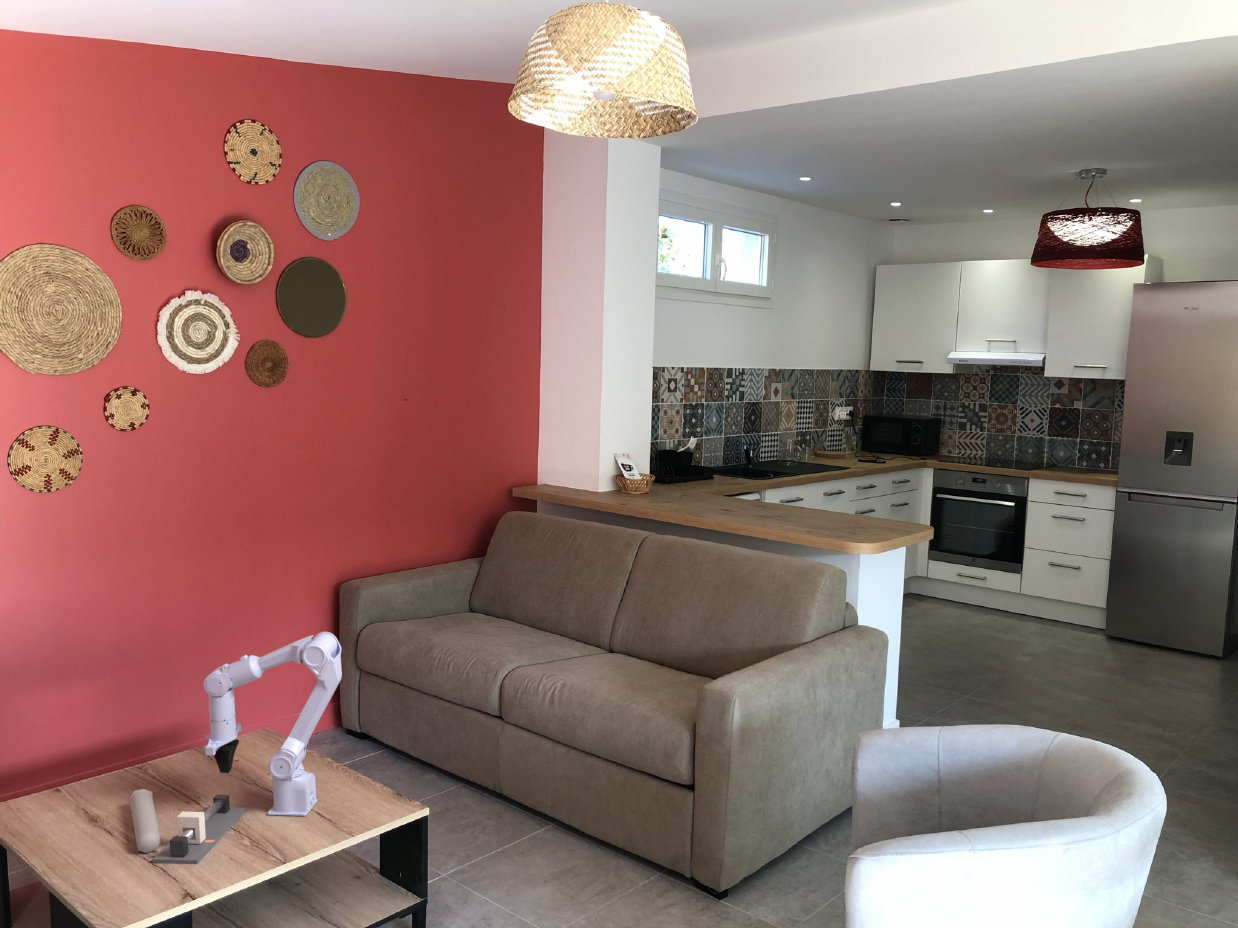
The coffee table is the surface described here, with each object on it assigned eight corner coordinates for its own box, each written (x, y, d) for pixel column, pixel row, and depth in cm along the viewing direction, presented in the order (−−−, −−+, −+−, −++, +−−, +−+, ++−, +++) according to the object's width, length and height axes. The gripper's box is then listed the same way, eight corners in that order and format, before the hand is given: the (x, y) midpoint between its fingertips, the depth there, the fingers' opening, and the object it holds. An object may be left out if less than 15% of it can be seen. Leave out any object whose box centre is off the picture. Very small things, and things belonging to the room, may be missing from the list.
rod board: (246, 810, 234) (245, 792, 233) (197, 863, 210) (196, 843, 210) (205, 810, 234) (204, 791, 234) (152, 862, 211) (151, 842, 210)
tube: (165, 834, 215) (155, 789, 237) (140, 833, 213) (132, 787, 234) (158, 857, 215) (149, 810, 237) (132, 856, 212) (125, 808, 234)
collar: (205, 837, 219) (204, 811, 218) (200, 843, 216) (198, 817, 216) (184, 837, 219) (182, 811, 218) (178, 842, 217) (176, 816, 216)
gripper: (220, 705, 240) (223, 758, 241) (191, 729, 225) (194, 784, 227) (248, 706, 239) (251, 759, 241) (220, 729, 225) (224, 785, 227)
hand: (225, 771), depth 234 cm, fingers closed
